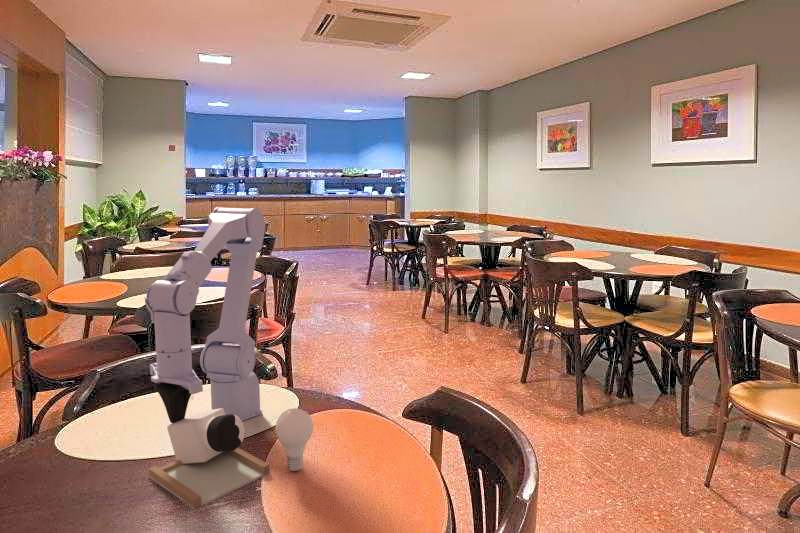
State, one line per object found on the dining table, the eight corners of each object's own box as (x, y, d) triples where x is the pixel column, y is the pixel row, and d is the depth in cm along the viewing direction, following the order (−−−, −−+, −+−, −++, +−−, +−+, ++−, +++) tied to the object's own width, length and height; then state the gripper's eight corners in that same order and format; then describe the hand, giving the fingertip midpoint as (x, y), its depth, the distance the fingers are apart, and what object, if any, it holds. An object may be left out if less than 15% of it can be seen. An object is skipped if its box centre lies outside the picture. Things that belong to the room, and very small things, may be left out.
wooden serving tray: (222, 447, 104) (222, 439, 104) (269, 473, 95) (269, 464, 95) (149, 477, 93) (148, 468, 93) (194, 509, 84) (193, 500, 84)
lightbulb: (320, 464, 98) (319, 405, 96) (302, 483, 92) (301, 420, 91) (288, 458, 100) (287, 400, 98) (269, 475, 94) (267, 414, 93)
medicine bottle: (176, 465, 97) (223, 461, 92) (165, 426, 97) (212, 419, 92) (208, 448, 104) (254, 443, 98) (197, 411, 104) (243, 404, 98)
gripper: (131, 344, 99) (135, 417, 101) (173, 362, 90) (177, 441, 92) (169, 336, 104) (172, 405, 106) (212, 352, 95) (215, 427, 97)
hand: (177, 421), depth 99 cm, fingers closed, pressing on medicine bottle
